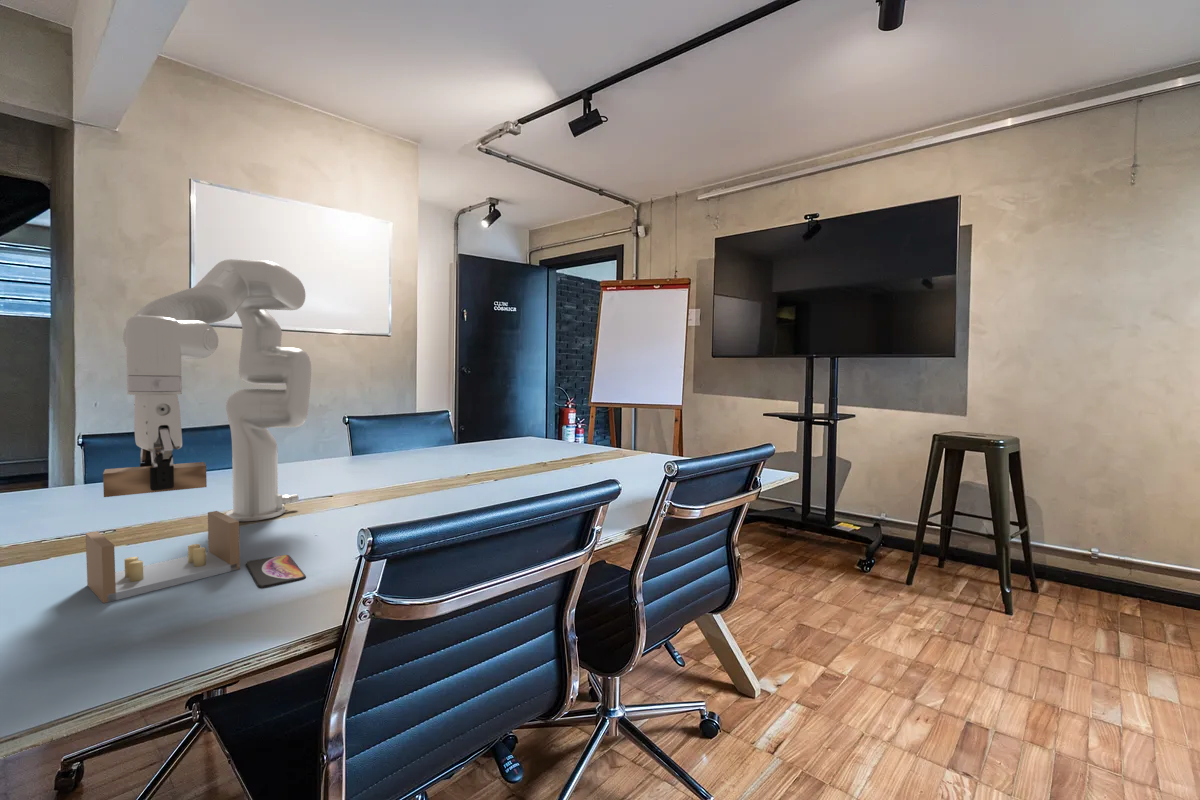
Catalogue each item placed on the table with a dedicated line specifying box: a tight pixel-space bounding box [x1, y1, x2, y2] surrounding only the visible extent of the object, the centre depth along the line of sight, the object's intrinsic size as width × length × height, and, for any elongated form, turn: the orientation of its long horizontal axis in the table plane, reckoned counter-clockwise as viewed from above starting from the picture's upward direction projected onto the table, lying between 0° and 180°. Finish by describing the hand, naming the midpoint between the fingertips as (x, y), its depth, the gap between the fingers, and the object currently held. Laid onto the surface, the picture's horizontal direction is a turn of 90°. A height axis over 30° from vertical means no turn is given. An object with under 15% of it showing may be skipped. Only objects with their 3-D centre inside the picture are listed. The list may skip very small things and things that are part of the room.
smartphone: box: [245, 554, 307, 589], centre depth 100 cm, size 8×1×15 cm
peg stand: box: [85, 510, 241, 604], centre depth 96 cm, size 19×11×9 cm, turn 143°
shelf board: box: [102, 461, 208, 498], centre depth 97 cm, size 14×5×4 cm, turn 130°
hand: (157, 485), depth 97 cm, fingers closed on shelf board, 5 cm apart
